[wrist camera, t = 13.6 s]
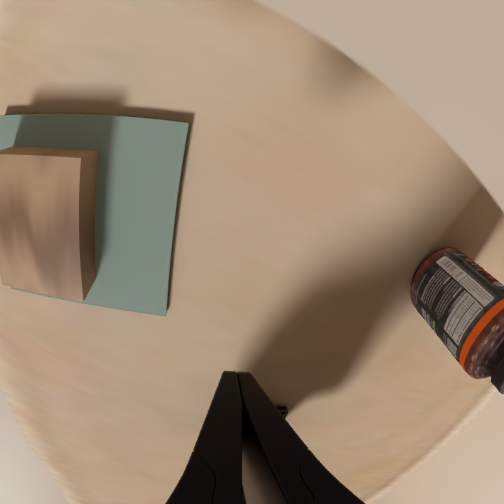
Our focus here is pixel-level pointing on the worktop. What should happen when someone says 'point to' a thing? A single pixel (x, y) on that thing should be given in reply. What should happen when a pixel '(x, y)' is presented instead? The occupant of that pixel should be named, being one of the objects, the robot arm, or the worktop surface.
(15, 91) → the worktop surface
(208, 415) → the robot arm
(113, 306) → the mat
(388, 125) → the worktop surface
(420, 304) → the supplement bottle
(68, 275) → the slab
